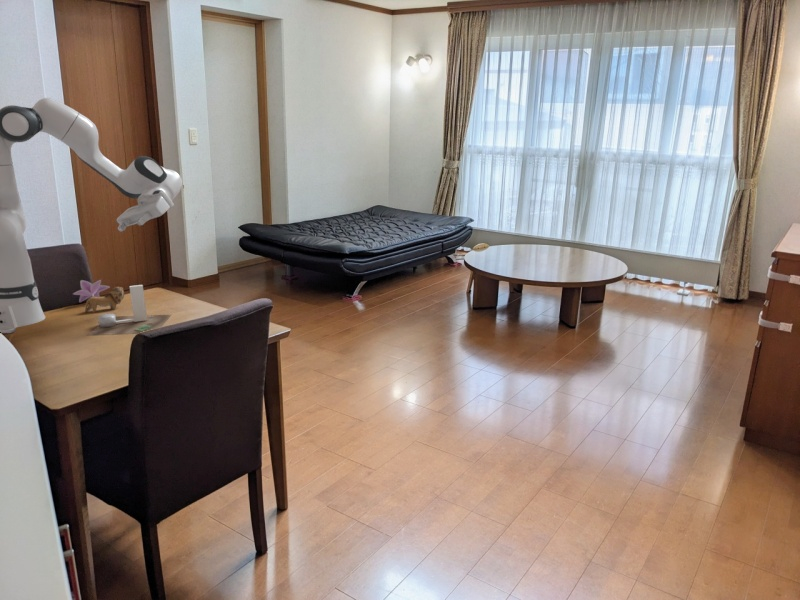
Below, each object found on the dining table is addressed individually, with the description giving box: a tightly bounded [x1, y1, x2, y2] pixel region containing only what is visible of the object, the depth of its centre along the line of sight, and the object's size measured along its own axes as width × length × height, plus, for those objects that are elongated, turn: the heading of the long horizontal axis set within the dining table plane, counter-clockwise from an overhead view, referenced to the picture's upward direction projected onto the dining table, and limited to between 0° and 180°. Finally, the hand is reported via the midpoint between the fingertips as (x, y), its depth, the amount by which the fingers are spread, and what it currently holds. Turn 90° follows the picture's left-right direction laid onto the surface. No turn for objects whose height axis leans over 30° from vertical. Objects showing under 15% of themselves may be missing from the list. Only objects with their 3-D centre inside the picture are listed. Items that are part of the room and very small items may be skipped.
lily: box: [72, 279, 111, 303], centre depth 225 cm, size 12×12×10 cm
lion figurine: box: [84, 286, 125, 314], centre depth 212 cm, size 15×5×9 cm, turn 130°
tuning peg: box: [97, 284, 147, 327], centre depth 197 cm, size 14×5×12 cm, turn 116°
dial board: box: [86, 314, 172, 336], centre depth 197 cm, size 21×19×2 cm
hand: (129, 226), depth 199 cm, fingers open, 8 cm apart
